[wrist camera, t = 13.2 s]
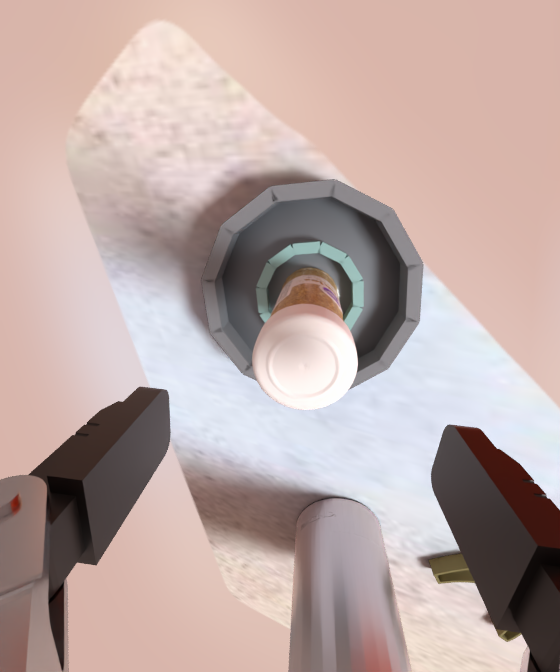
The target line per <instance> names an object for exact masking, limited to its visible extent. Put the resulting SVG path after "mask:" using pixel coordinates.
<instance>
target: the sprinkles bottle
mask: <svg viewBox="0 0 560 672" xmlns="http://www.w3.org/2000/svg"><path fill="white" fill-rule="evenodd" d="M252 365H253V371H254V374H255V377H256V380H257V382H258V383H259V385H260V386H261V388H262V389H263V390H264V392H265V393H266V394H267V395H268V396H269V397H271V398H272V399H273V400H275V401H276V402H278V403H280V404H282V405H284V406H287V407H290V408H294V409H300V410H311V409H318V408H322V407H325V406H328V405H330V404H332V403H334V402H335V401H337V400H338V399H340V398H341V397H342V396H343V395H344V394H345V393H346V392H347V391H348V389H349V388H350V387H351V385H352V383H353V381H354V379H355V376H356V372H357V366H358V358H357V351H356V347H355V343H354V340H353V336H352V334H351V332H350V330H349V328H348V326H347V325H346V323H345V322H344V321H343V313H342V309H341V305H340V301H339V297H338V292H337V287H336V285H335V283H334V280H333V279H332V278H331V277H330V276H329V274H327V273H326V272H324V271H322V270H320V269H317V268H311V267H308V268H302V269H299V270H297V271H295V272H294V273H292V274H291V275H290V276H289V277H288V278H287V279H286V281H285V283H284V284H283V287H282V291H281V293H280V295H279V297H278V300H277V302H276V305H275V307H274V309H273V311H272V313H271V316H270V318H269V319H268V320H267V321H266V323H265V324H264V326H263V327H262V329H261V331H260V333H259V335H258V338H257V340H256V343H255V346H254V349H253V355H252Z"/></svg>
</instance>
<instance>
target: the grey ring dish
mask: <svg viewBox="0 0 560 672" xmlns="http://www.w3.org/2000/svg"><path fill="white" fill-rule="evenodd" d="M422 263H423V262H422V260H421V258H420V256H419V254H418V253H417V251H416V249H415V247H414V246H413V244H412V242H411V240H410V238H409V237H408V235H407V233H406V231H405V229H404V228H403V226H402V224H401V222H400V220H399V219H398V217H397V215H396V213H395V211H394V210H393V209H392V208H391V207H388V206H387V205H385V204H383V203H381V202H379V201H377V200H375V199H373V198H371V197H369V196H367V195H365V194H363V193H361V192H359V191H357V190H355V189H354V188H352V187H350V186H348V185H346V184H344V183H342V182H340V181H338V180H335V179H332V180H322V181H313V182H304V183H294V184H285V185H276V186H271V187H269V188H267V189H266V190H265V191H263V192H262V193H261V194H260V195H258V196H257V197H256V198H255V199H253V200H252V201H251V202H250V203H248V204H247V205H246V206H245V207H243V208H242V209H241V210H239V211H238V212H237V213H236V214H234V215H233V216H232V217H231V218H229V219H228V220H227V221H226V222H224V223H223V224H222V225H221V227H220V230H219V232H218V235H217V238H216V240H215V243H214V246H213V248H212V251H211V254H210V257H209V259H208V262H207V265H206V267H205V270H204V273H203V275H202V278H201V279H202V280H201V283H202V289H203V295H204V300H205V306H206V312H207V318H208V324H209V330H210V333H211V335H212V336H213V338H214V339H215V340H216V341H217V343H218V344H219V345H220V346H221V348H222V349H223V350H224V351H225V353H226V354H227V355H228V357H229V358H230V359H231V360H232V362H233V363H234V364H235V365H236V367H237V368H238V369H239V370H240V372H241V373H243V375H245V376H248V377H250V378H252V379H254V380H256V377H255V374H254V371H253V365H252V355H253V349H254V346H255V343H256V340H257V338H258V335H259V333H260V331H261V329H262V327H263V326H264V324H265V323H266V321H267V320H268V319H269V318H270V316H271V313H272V311H273V309H274V307H275V305H276V302H277V300H278V297H279V295H280V293H281V291H282V287H283V284H284V283H285V281H286V279H287V278H288V277H289V276H290V275H291V274H292V273H294V272H295V271H297V270H299V269H302V268H308V267H311V268H317V269H320V270H322V271H324V272H326V273H327V274H329V276H330V277H331V278H332V279H333V280H334V283H335V285H336V287H337V292H338V297H339V301H340V305H341V309H342V313H343V321H344V322H345V323H346V325H347V326H348V328H349V330H350V332H351V334H352V336H353V340H354V343H355V347H356V351H357V358H358V366H357V372H356V376H355V379H354V381H353V383H352V385H351V387H350V388H349V389H351V388H353V387H355V386H357V385H359V384H361V383H363V382H364V381H366V380H368V379H370V378H372V377H374V376H376V375H377V374H379V373H381V372H383V371H385V370H387V369H388V368H389V367H390V366H391V364H392V363H393V361H394V360H395V358H396V357H397V355H398V354H399V352H400V351H401V349H402V348H403V346H404V345H405V343H406V342H407V340H408V339H409V337H410V336H411V334H412V333H413V331H414V330H415V328H416V327H417V325H418V324H419V322H420V309H421V293H422V277H423V264H422ZM256 381H257V380H256ZM349 389H348V390H349Z"/></svg>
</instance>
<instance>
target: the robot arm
mask: <svg viewBox="0 0 560 672" xmlns="http://www.w3.org/2000/svg"><path fill="white" fill-rule="evenodd" d="M169 442H170V411H169V395H168V392H167V390H164V389H156V388H148V387H139V388H137V389H136V390H135V391H134V392H133V393H132V394H131V395H130V396H129V397H128V398H127V399H126V400H125V401H124V402H119V401H118V402H116V403H114V404H112V405H110V406H108V407H106V408H104V409H102V410H100V411H99V412H98V413H97V414H96V415H95V416H93V417H92V418H91V419H90V420H89V421H88V422H87V424H86V425H84V426H82V427H81V428H80V429H79V430H78V431H77V432H76V434H75V435H72V436H71V437H70V438H69V439H68V440H67V441H66V442H64V443H63V444H62V445H61V446H60V447H59V448H58V449H57V450H55V451H54V452H53V453H52V454H51V455H50V456H49V457H48V458H47V459H45V460H44V461H43V462H42V463H41V464H40V465H39V466H38V467H36V468H35V469H34V470H33V471H32V472H31V473H30V474H29V475H19V476H12V477H8V478H4V479H1V480H0V672H69V671H68V670H69V668H68V593H67V592H68V588H67V580H66V577H67V576H68V575H69V573H70V571H71V570H72V569H73V567H74V566H75V564H76V563H77V562H78V563H84V564H91V565H97V563H98V562H99V560H100V559H101V557H102V555H103V554H104V552H105V551H106V549H107V547H108V546H109V544H110V543H111V541H112V539H113V538H114V536H115V535H116V533H117V531H118V530H119V528H120V527H121V525H122V523H123V522H124V520H125V519H126V517H127V515H128V514H129V512H130V511H131V509H132V507H133V506H134V504H135V503H136V501H137V499H138V498H139V496H140V494H141V493H142V491H143V490H144V488H145V487H146V485H147V483H148V482H149V480H150V479H151V477H152V475H153V474H154V472H155V471H156V469H157V467H158V466H159V464H160V463H161V461H162V459H163V458H164V456H165V454H166V452H167V450H168V446H169ZM431 482H432V488H433V491H434V494H435V496H436V498H437V500H438V503H439V505H440V507H441V509H442V511H443V514H444V516H445V518H446V520H447V522H448V524H449V527H450V529H451V531H452V533H453V535H454V538H455V540H456V542H457V544H458V546H459V549H460V551H461V553H462V555H463V557H464V560H465V562H466V564H467V566H468V568H469V571H470V573H471V575H472V577H473V579H474V582H475V584H476V586H477V588H478V590H479V593H480V595H481V597H482V599H483V601H484V604H485V606H486V608H487V610H488V612H489V615H490V617H491V619H492V621H493V623H494V626H495V628H496V629H498V630H505V631H511V632H518V633H521V634H522V635H523V637H524V639H525V641H526V643H527V645H528V646H527V648H526V650H525V651H524V653H523V657H522V662H521V669H520V672H560V510H559V509H558V508H557V507H556V505H555V504H554V503H553V502H552V501H551V500H550V499H548V498H547V497H546V494H545V493H544V491H543V490H542V489H541V488H540V487H539V486H538V485H537V484H534V480H533V479H532V478H531V476H530V475H529V474H528V473H527V472H526V471H525V469H524V468H523V467H522V466H521V465H520V464H519V463H518V462H516V461H515V460H514V459H512V458H511V457H510V456H508V455H507V454H506V453H504V452H503V451H501V450H500V449H496V447H495V446H494V445H493V444H492V442H491V441H490V440H489V439H488V438H487V436H486V435H485V434H484V433H483V431H482V430H480V429H479V428H474V427H466V426H457V425H447V426H446V427H445V429H444V431H443V434H442V438H441V441H440V444H439V447H438V451H437V454H436V457H435V461H434V464H433V467H432V472H431ZM289 672H412V669H411V664H410V659H409V655H408V650H407V646H406V641H405V637H404V632H403V628H402V623H401V618H400V614H399V609H398V605H397V600H396V596H395V591H394V586H393V582H392V577H391V573H390V568H389V563H388V558H387V554H386V549H385V545H384V540H383V536H382V531H381V527H380V523H379V521H378V519H377V517H376V516H375V514H374V513H373V512H372V511H371V510H369V509H368V508H367V507H365V506H364V505H362V504H360V503H358V502H355V501H352V500H347V499H340V498H332V499H325V500H321V501H318V502H315V503H313V504H312V505H310V506H308V507H307V508H306V509H305V510H304V511H302V513H301V514H300V516H299V518H298V520H297V525H296V542H295V559H294V576H293V595H292V614H291V633H290V653H289Z"/></svg>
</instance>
